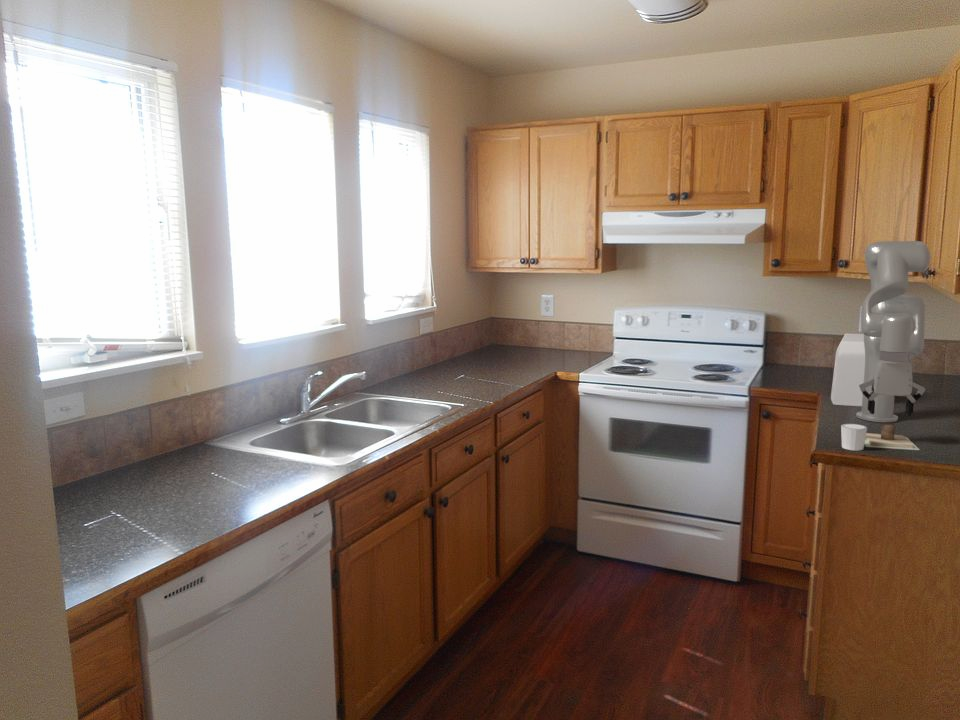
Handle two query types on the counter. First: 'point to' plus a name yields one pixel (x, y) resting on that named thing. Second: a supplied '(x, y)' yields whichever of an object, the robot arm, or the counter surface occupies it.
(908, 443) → the lid
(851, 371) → the milk
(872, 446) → the mat
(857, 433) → the white cup
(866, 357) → the robot arm
